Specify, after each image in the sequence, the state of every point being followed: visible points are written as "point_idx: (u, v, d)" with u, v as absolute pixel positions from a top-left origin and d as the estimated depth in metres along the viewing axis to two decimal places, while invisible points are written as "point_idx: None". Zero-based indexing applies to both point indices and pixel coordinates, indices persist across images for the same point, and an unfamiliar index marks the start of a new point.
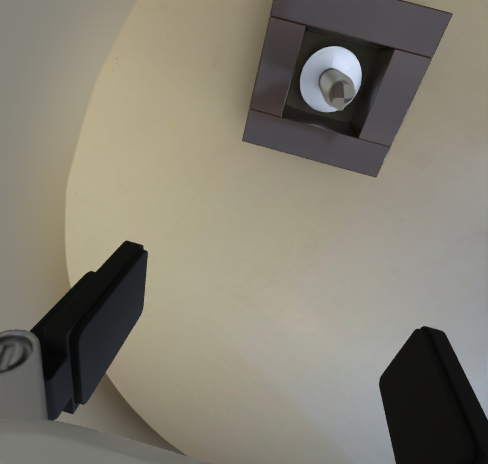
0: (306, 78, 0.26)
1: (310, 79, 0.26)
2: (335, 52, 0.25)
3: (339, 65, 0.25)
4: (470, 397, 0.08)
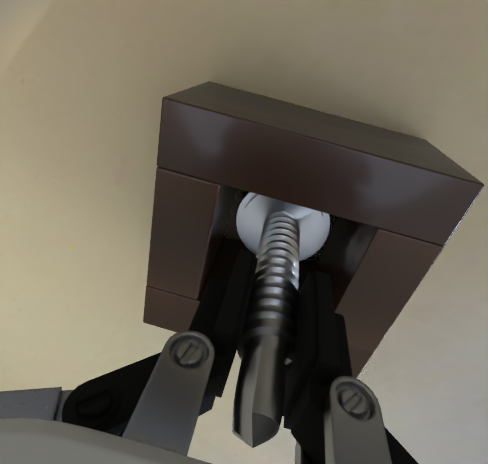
0: (244, 222, 0.17)
1: (251, 223, 0.17)
2: None
3: (294, 208, 0.16)
4: (329, 320, 0.09)
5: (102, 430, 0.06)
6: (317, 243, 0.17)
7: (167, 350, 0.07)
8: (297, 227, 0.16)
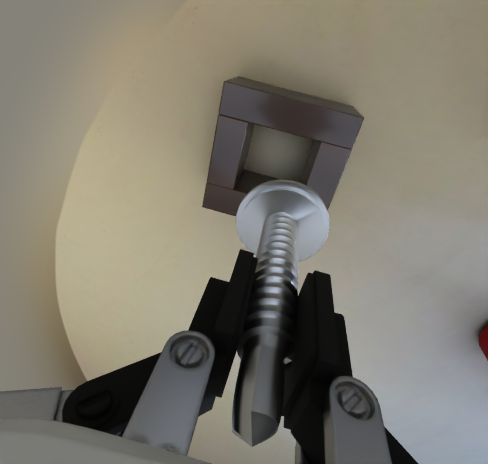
0: (244, 223, 0.17)
1: (250, 224, 0.17)
2: (286, 192, 0.16)
3: (293, 209, 0.16)
4: (329, 319, 0.09)
5: (102, 430, 0.06)
6: (317, 244, 0.17)
7: (167, 350, 0.07)
8: (297, 228, 0.16)
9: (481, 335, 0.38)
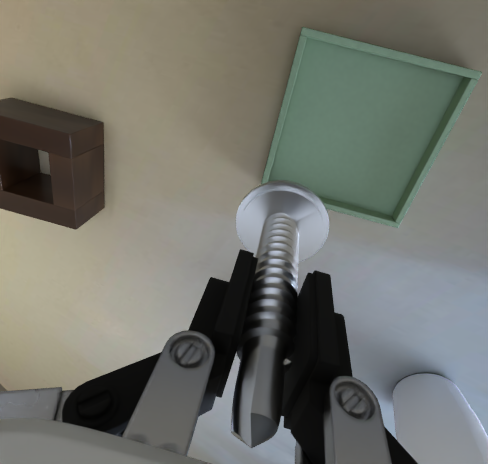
0: (244, 223, 0.17)
1: (250, 225, 0.17)
2: (285, 192, 0.16)
3: (293, 210, 0.16)
4: (329, 319, 0.09)
5: (102, 430, 0.06)
6: (316, 244, 0.17)
7: (167, 350, 0.07)
8: (296, 228, 0.16)
9: None
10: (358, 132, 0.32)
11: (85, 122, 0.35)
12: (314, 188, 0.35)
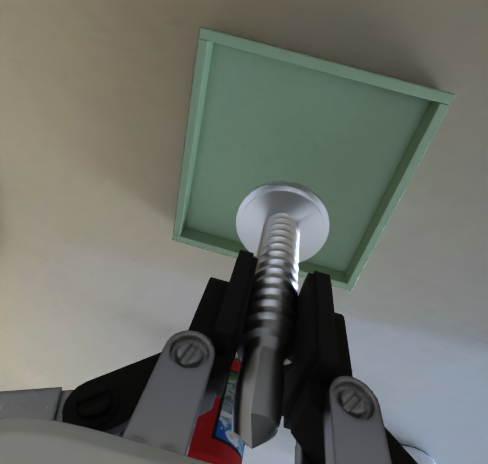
0: (244, 224, 0.17)
1: (250, 225, 0.17)
2: (286, 193, 0.16)
3: (293, 210, 0.16)
4: (329, 319, 0.09)
5: (102, 430, 0.06)
6: (317, 244, 0.17)
7: (167, 350, 0.07)
8: (297, 228, 0.16)
9: None
10: (294, 169, 0.23)
11: None
12: None
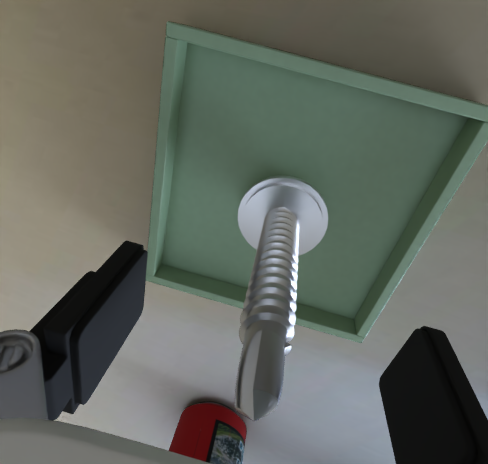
0: (246, 218, 0.17)
1: (252, 219, 0.17)
2: (286, 187, 0.16)
3: (293, 204, 0.16)
4: (470, 397, 0.08)
5: None
6: (316, 238, 0.17)
7: None
8: (296, 222, 0.16)
9: None
10: None
11: None
12: (233, 276, 0.22)
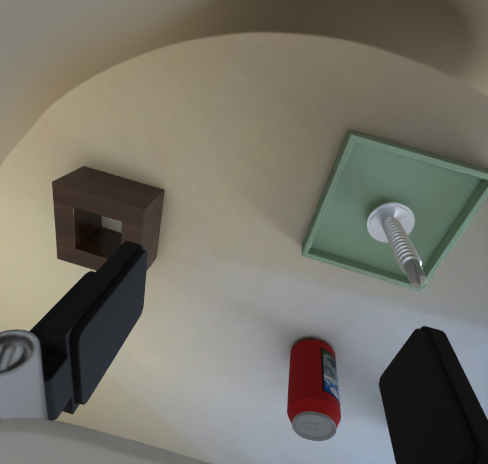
0: (373, 221, 0.35)
1: (376, 222, 0.35)
2: (396, 207, 0.34)
3: (398, 215, 0.34)
4: (470, 397, 0.08)
5: None
6: (407, 232, 0.35)
7: None
8: None
9: None
10: None
11: (150, 192, 0.40)
12: (349, 254, 0.40)
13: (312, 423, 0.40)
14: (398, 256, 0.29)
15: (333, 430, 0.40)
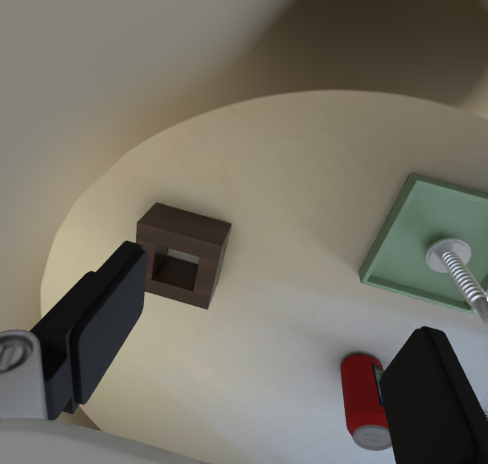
0: (432, 255, 0.39)
1: (435, 255, 0.39)
2: (455, 243, 0.37)
3: (457, 250, 0.38)
4: (470, 397, 0.08)
5: None
6: None
7: None
8: None
9: None
10: None
11: (221, 227, 0.43)
12: (404, 281, 0.44)
13: (372, 435, 0.44)
14: (466, 293, 0.33)
15: None
